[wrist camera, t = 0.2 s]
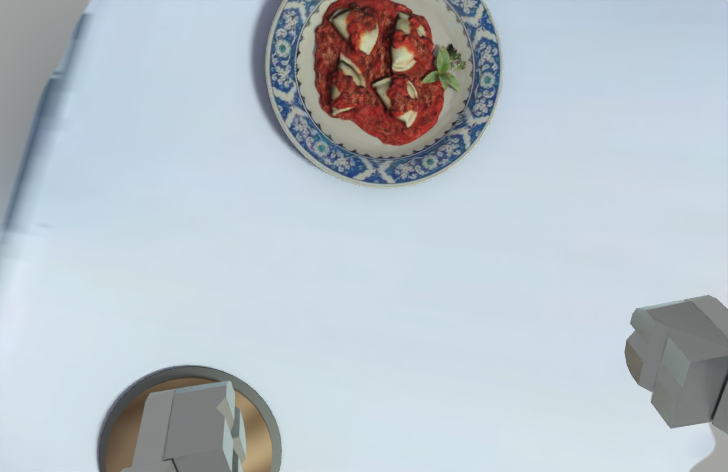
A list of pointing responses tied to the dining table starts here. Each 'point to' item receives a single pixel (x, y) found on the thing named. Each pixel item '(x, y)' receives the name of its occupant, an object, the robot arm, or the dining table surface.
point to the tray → (195, 372)
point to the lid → (130, 419)
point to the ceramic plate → (384, 84)
